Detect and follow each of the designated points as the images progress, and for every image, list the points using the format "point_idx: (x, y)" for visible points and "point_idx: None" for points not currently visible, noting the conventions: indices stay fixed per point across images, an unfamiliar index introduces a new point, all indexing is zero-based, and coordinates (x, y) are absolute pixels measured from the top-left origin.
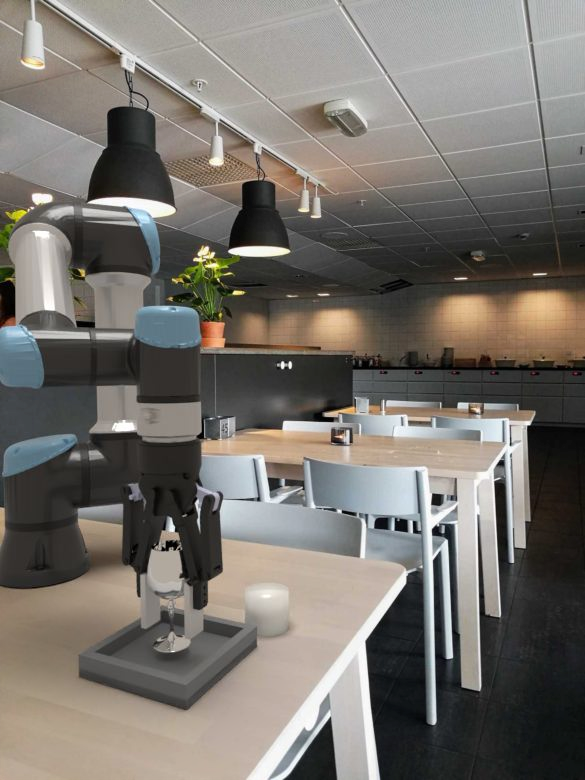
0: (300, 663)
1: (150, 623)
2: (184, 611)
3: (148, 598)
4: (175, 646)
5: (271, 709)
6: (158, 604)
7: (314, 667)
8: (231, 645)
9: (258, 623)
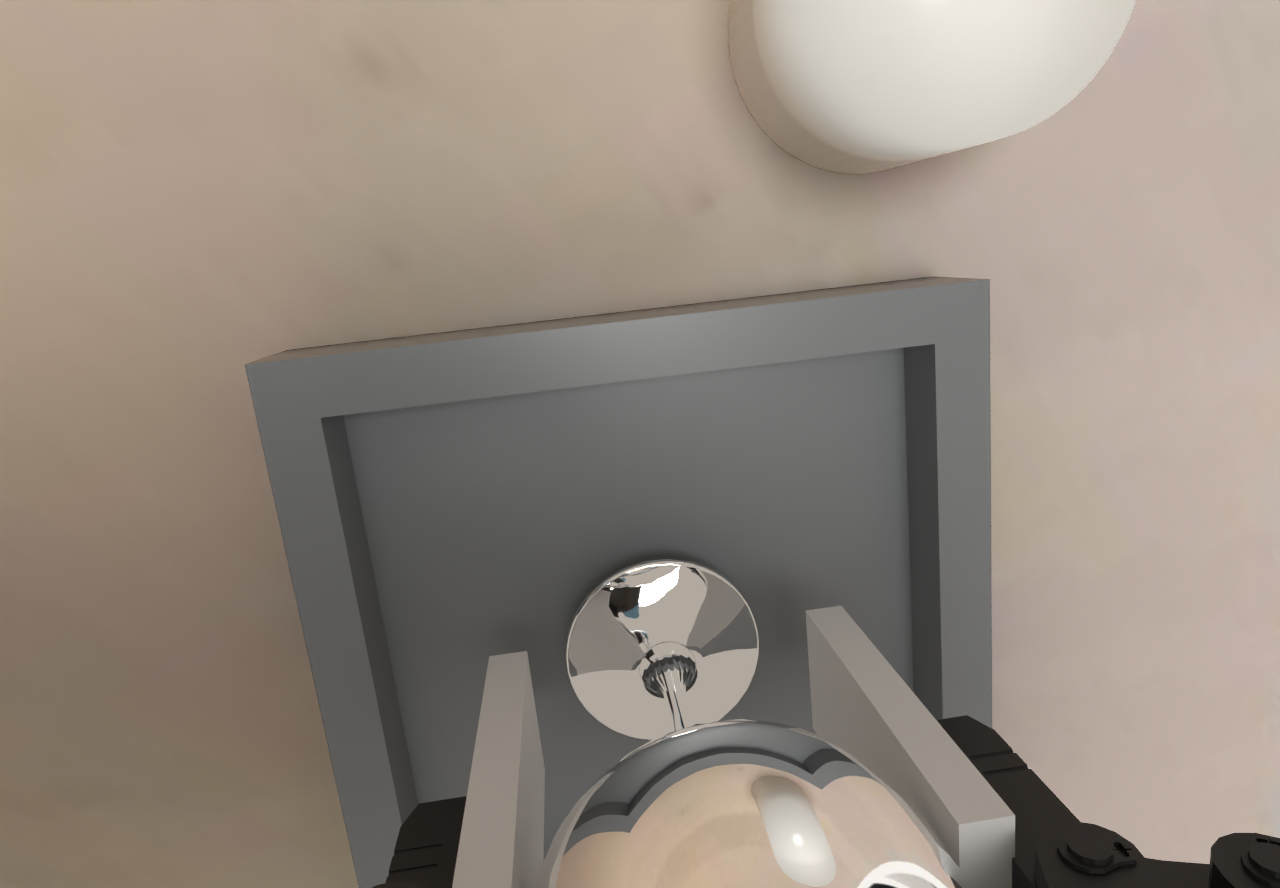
0: (1193, 306)
1: (538, 742)
2: None
3: (537, 871)
4: (721, 687)
5: (1214, 653)
6: (526, 723)
7: (1263, 303)
8: (981, 542)
9: (911, 162)
